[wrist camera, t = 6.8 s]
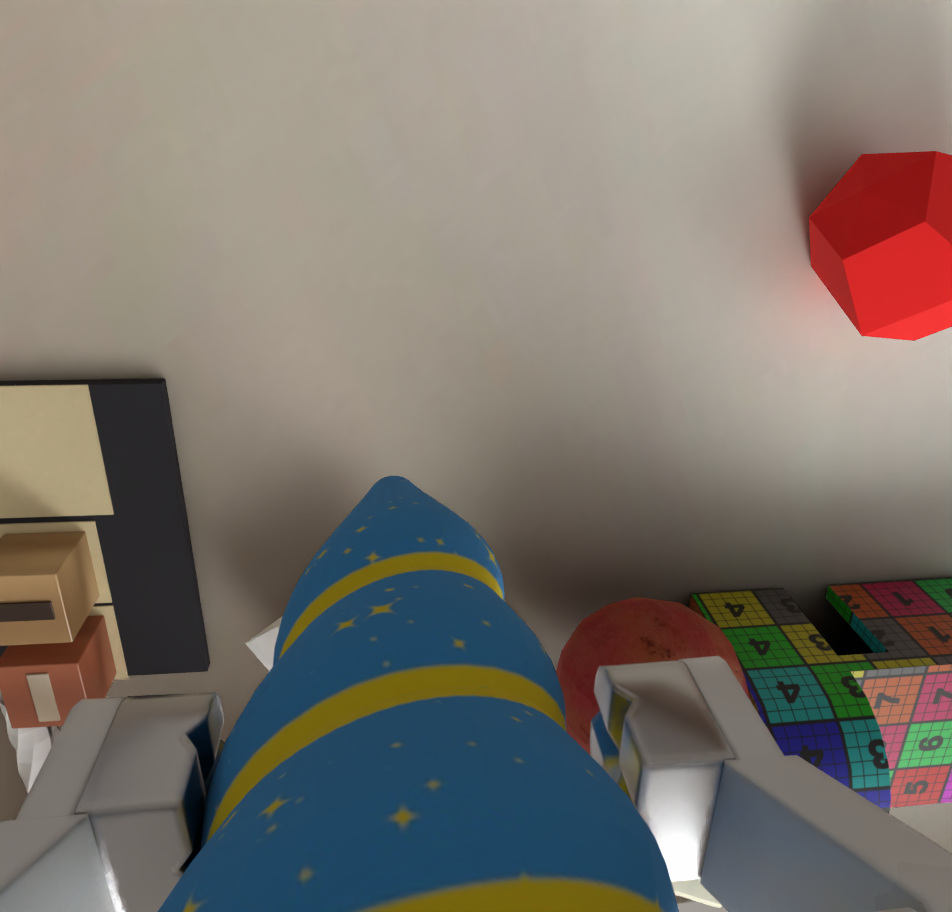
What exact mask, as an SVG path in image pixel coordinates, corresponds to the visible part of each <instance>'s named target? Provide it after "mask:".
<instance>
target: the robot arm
mask: <svg viewBox="0 0 952 912" xmlns="http://www.w3.org/2000/svg"><path fill="white" fill-rule="evenodd" d="M594 694H595V697H596V700H597V702H598V705H599V708H600V711H599V712H598V713H597V714H596V715H595V716H594V717H593V718H592V719H591V728H590V753H591V757H592V758H593V759H595V760H596V761H597V762H598V763H599V764H600V765H601V766H602V768H603V769H604V770H605V771H606V772H607V773H608V774H609V776H610V777H611V778H612V779H613V780H614V781H615V782H616V783H617V785H618V786H619V787H620V788H621V789H622V790H623V791H624V792H625V794H626V795H627V796H628V797H629V799H630V800H631V802H632V803H633V805H634V806H635V808H636V809H637V811H638V812H639V814H640V815H641V817H642V818H643V820H644V821H645V823H646V824H647V826H648V827H649V829H650V830H651V832H652V833H653V835H654V836H655V838H656V841H657V843H658V845H659V848H660V850H661V853H662V855H663V857H664V860H665V862H666V864H667V868H668V871H669V875H670V878H671V881H682V880H696V879H701V880H700V884H701V885H702V886H703V887H704V888H705V889H706V890H707V891H708V892H709V893H710V894H711V895H712V896H713V897H714V898H715V899H716V900H717V901H718V902H719V903H720V904H721V905H722V906H723V907H724V908H725V909H726V910H727V911H728V912H952V853H950V852H949V851H947V850H946V849H944V848H943V847H941V846H939V845H938V844H936V843H935V842H933V841H932V840H930V839H928V838H927V837H925V836H924V835H922V834H920V833H919V832H917V831H916V830H914V829H913V828H911V827H909V826H908V825H906V824H905V823H903V822H902V821H900V820H898V819H897V818H895V817H894V816H892V815H890V814H889V813H887V812H886V811H884V810H883V809H881V808H879V807H878V806H876V805H875V804H873V803H872V802H870V801H868V800H867V799H865V798H864V797H862V796H860V795H859V794H857V793H856V792H854V791H853V790H851V789H849V788H848V787H846V786H845V785H843V784H842V783H840V782H838V781H837V780H835V779H834V778H832V777H830V776H829V775H827V774H826V773H824V772H823V771H821V770H819V769H818V768H816V767H815V766H813V765H812V764H810V763H808V762H807V761H805V760H804V759H802V758H800V757H799V756H797V755H790V756H784V754H783V753H782V751H781V750H780V748H779V746H778V745H777V743H776V742H775V740H774V738H773V737H772V735H771V733H770V732H769V730H768V729H767V727H766V725H765V724H764V722H763V720H762V719H761V717H760V716H759V714H758V712H757V711H756V709H755V708H754V706H753V704H752V703H751V701H750V699H749V698H748V696H747V695H746V693H745V691H744V690H743V688H742V686H741V685H740V683H739V682H738V680H737V678H736V677H735V675H734V673H733V672H732V670H731V669H730V667H729V665H728V664H727V662H726V661H725V660H724V659H722V658H721V657H719V656H711V657H699V658H688V659H679V660H678V661H676V660H672V661H659V662H646V663H633V664H620V665H606V666H599V668H598V670H597V673H596V677H595V685H594ZM224 721H225V715H224V710H223V706H222V701H221V696H220V695H218V694H217V693H216V692H211V693H189V694H167V695H145V696H128V697H127V698H123V697H121V698H98V699H82V700H81V701H79V702H78V703H77V704H76V705H75V706H73V707H72V709H71V710H70V712H69V714H68V716H67V718H66V720H65V722H64V724H63V726H62V728H61V730H60V732H59V734H58V736H57V738H56V740H55V742H54V744H53V746H52V748H51V750H50V751H49V753H48V755H47V757H46V759H45V761H44V763H43V765H42V767H41V769H40V771H39V773H38V775H37V777H36V779H35V781H34V783H33V785H32V787H31V789H30V791H29V793H28V795H27V797H26V799H25V801H24V803H23V805H22V807H21V809H20V811H19V813H18V815H17V817H16V819H15V820H7V821H0V912H158V910H159V909H160V907H161V906H162V904H163V903H164V901H165V900H166V898H167V897H168V896H169V894H170V893H171V891H172V890H173V888H174V887H175V885H176V884H177V882H178V881H179V880H180V878H181V877H182V875H183V874H184V872H185V871H186V869H187V868H188V867H189V865H190V864H191V862H192V861H193V860H194V858H195V857H196V856H197V855H198V853H199V852H200V851H201V838H202V829H203V821H204V813H205V804H206V799H207V795H208V792H209V788H210V785H211V782H212V778H213V775H214V772H215V769H216V767H217V764H218V761H219V759H220V756H221V753H222V750H223V748H224V745H225V743H224V742H223V741H222V740H221V739H220V738H221V733H222V729H223V725H224Z"/></svg>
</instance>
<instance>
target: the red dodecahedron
mask: <svg viewBox="0 0 952 912" xmlns="http://www.w3.org/2000/svg"><path fill="white" fill-rule="evenodd" d="M809 228H810V254H811V267H812V268H813V270H814V271H815V272H816V274H817V275H818V276H819V278H820V279H821V281H822V282H823V283H824V285H825V286H826V287H827V289H828V290H829V292H830V293H831V294H832V296H833V297H834V298H835V300H836V301H837V303H838V304H839V305H840V307H841V308H842V309H843V311H844V312H845V314H846V315H847V316H848V318H849V319H850V320H851V322H852V323H853V324H854V326H855V327H856V329H857V330H858V331H859V333H860V334H861V335H862V336H870V337H881V338H892V339H903V340H913V341H914V340H917V339H920V338H922V337H925V336H928V335H930V334H933V333H936V332H938V331H941V330H944V329H946V328H949V327H952V155H948V154H945V153H941V152H938V151H928V152H904V153H879V154H862V155H861V156H860V157H859V158H858V159H857V161H856V162H855V163H854V164H853V165H852V167H851V168H850V169H849V170H848V171H847V173H846V174H845V175H844V176H843V177H842V179H841V180H840V181H839V182H838V183H837V185H836V186H835V187H834V188H833V189H832V191H831V192H830V193H829V194H828V195H827V197H826V198H825V199H824V200H823V201H822V203H821V204H820V205H819V206H818V207H817V209H816V210H815V211H814V212H813V213H812V215H811V216H810V217H809Z"/></svg>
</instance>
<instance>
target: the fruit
mask: <svg viewBox="0 0 952 912" xmlns="http://www.w3.org/2000/svg"><path fill="white" fill-rule="evenodd" d="M711 656H719V657H721V658H722V659H724V660H725V661H726V662H727V664H728V665H729V667H730V669H731V670H732V672H733V673H734V675H735V677H736V678H737V680H738V682H739V683H740V685H741V686H742V688H743V690H744V691H745V693H746V695H747V696H748V698H749V699H750V701H751V698H750V695H749V691H748V687H747V684H746V679H745V677H744V674H743V671H742V669H741V666H740V664H739V661H738V659H737V656H736V653H735V651H734V648H733V646H732V644H731V643H730V641H729V640H728V639H727V637H726V636H725V635H724V633H723V632H722V630H721V629H720V628H719V627H718V626H716V625H715V624H713V623H712V622H710V621H709V620H707V619H705V618H704V617H702V616H701V615H699V614H698V613H696V612H694V611H693V610H691V609H689V608H688V607H686V606H684V605H683V604H681V603H679V602H672V601H664V600H657V599H650V598H643V597H634V598H630V599H626V600H622V601H618V602H614V603H611V604H608V605H606V606H604V607H603V608H601V609H599V610H598V611H596V612H594V613H593V614H591V615H589V616H588V617H586V618H584V619H583V620H582V621H581V622H580V624H579V625H578V627H577V628H576V630H575V631H574V633H573V634H572V636H571V637H570V639H569V640H568V642H567V643H566V645H565V647H564V648H563V650H562V652H561V656H560V659H559V663H558V666H557V670H556V674H557V677H558V680H559V683H560V686H561V689H562V691H563V696H564V701H565V711H566V730H567V733H568V734H569V735H570V736H571V737H572V738H573V739H574V740H575V741H576V742H577V743H578V744H579V745H580V746H581V747H582V748H583V749H584V750H585V751H586V752H587V753H588V754H589V755H590V756H591V753H590V728H591V719H592V718H593V717H594V716H595V715H596V714H597V713H598V712H599V711H600V708H599V705H598V702H597V700H596V697H595V694H594V685H595V677H596V673H597V670H598V668H599V666H606V665H620V664H633V663H646V662H659V661H672V660H676V661H678V660H679V659H688V658H699V657H711Z"/></svg>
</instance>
